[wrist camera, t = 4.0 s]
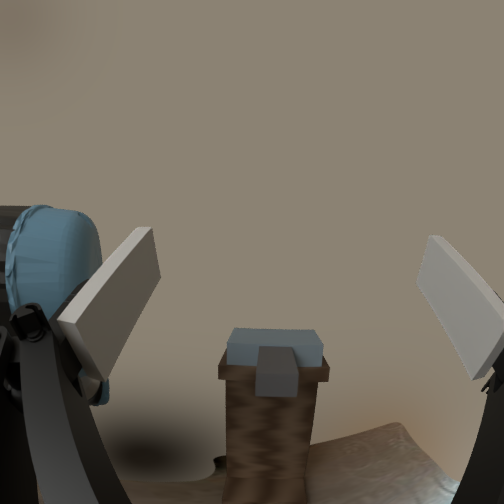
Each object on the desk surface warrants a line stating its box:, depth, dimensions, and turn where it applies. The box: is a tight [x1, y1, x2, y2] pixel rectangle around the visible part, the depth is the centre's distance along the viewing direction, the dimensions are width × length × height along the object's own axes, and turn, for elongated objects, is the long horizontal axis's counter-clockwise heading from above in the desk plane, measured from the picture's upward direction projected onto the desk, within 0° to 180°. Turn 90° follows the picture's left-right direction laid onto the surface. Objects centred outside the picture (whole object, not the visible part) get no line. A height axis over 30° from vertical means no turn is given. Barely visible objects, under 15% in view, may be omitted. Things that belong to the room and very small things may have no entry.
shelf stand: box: [218, 349, 330, 504], centre depth 37 cm, size 14×9×28 cm, turn 87°
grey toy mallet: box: [227, 328, 323, 397], centre depth 33 cm, size 12×17×3 cm
